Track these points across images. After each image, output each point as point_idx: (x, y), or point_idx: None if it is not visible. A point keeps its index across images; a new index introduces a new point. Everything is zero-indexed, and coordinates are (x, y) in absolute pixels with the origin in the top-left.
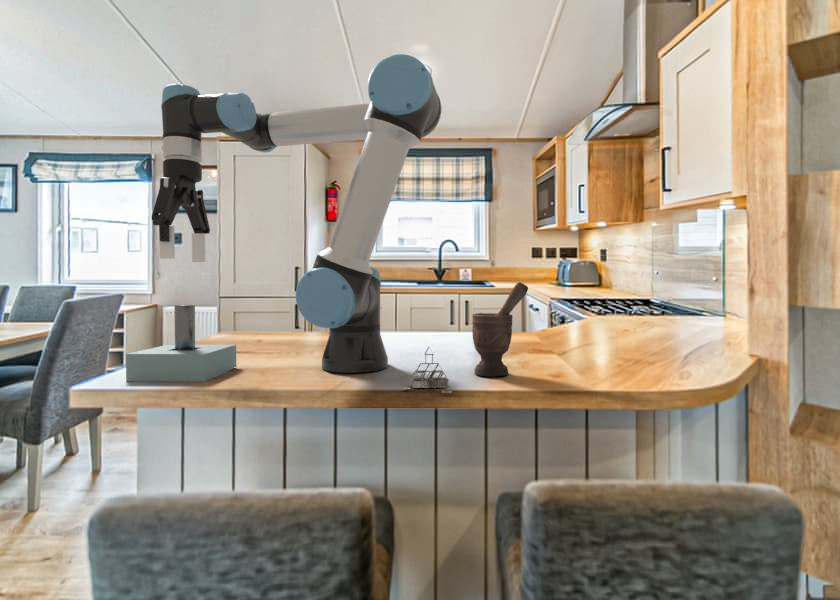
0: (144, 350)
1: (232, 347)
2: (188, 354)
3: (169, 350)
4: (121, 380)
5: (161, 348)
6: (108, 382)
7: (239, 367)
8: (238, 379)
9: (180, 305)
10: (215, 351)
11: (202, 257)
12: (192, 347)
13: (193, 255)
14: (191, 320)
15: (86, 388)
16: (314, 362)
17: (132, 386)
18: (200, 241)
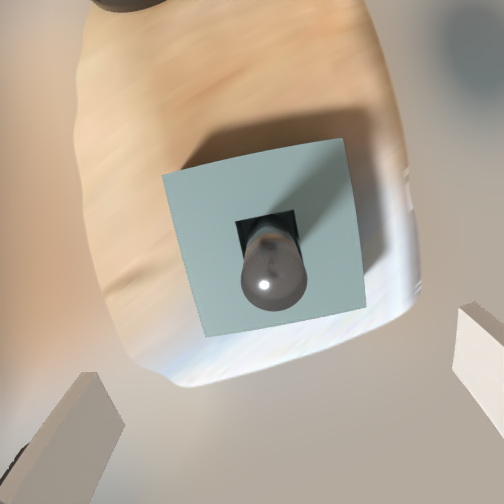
0: (311, 313)
1: (185, 169)
2: (349, 174)
3: None
4: None
5: None
6: None
7: None
8: (294, 91)
9: (295, 281)
10: (285, 147)
11: (88, 394)
12: (272, 222)
13: (109, 443)
14: (278, 237)
15: (408, 298)
16: (80, 67)
17: (389, 241)
18: (49, 476)
